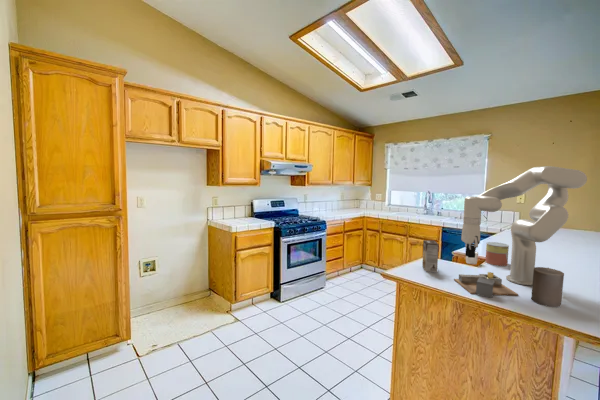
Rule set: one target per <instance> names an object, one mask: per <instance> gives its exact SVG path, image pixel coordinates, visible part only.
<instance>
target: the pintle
mask: <svg viewBox="0 0 600 400" xmlns="http://www.w3.org/2000/svg"><path fill="white" fill-rule="evenodd" d="M487 274H488V275H487V278H493V275H495V274H494V272H490V271H488V272H487Z"/></svg>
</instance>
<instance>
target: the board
mask: <svg viewBox="0 0 600 400" xmlns="http://www.w3.org/2000/svg"><path fill="white" fill-rule="evenodd" d="M453 281H454V282H455V283H457V285H459V286H461V287H462V288H463V289H464V290H465V291H467V293H469V294H470V295H477V294H476V284H477V283H461V282H460V281H459V278H454V279H453ZM493 296H509V297H511V296H512V297H519V293H517V292H516V291H514V290H512V289H511V288H509V287H508V286H505V285H504V284H503V283H502V286H493Z"/></svg>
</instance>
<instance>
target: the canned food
mask: <svg viewBox="0 0 600 400" xmlns="http://www.w3.org/2000/svg"><path fill="white" fill-rule="evenodd" d="M485 245H486V248H485V261H484V262H485V263H486V264H488V265H491V266H496V267H507V266H508V264H509V263H508V262H509V247H510V245H509V244H507V243H502V242H497V241H496V242H493V241H488V242H486V244H485Z"/></svg>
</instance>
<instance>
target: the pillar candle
mask: <svg viewBox="0 0 600 400" xmlns="http://www.w3.org/2000/svg"><path fill="white" fill-rule="evenodd" d="M564 276H565V273H564V272H563V271H561V270H558V269H555V268H551V267H544V266H543V267H542V266H537V267H536V266H535V268H534V272H533V283H532V287H531V298H530V300H531V301H533V302H534V303H536V304H538V305H540V306H545V307H549V308H561V306H562V302H563V301H562V299H563V289H564V278H565V277H564Z"/></svg>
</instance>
